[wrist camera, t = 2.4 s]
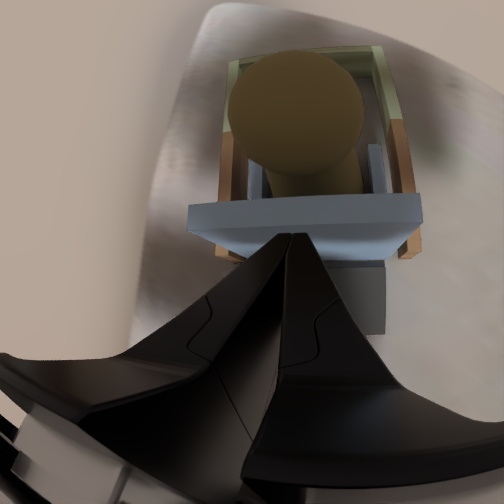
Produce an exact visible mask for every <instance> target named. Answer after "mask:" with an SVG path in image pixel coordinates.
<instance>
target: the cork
mask: <svg viewBox="0 0 504 504" xmlns="http://www.w3.org/2000/svg"><path fill="white" fill-rule="evenodd" d="M227 116H228V121H229V125H230V128H231V131H232V135H233V138H234V140H235V141H236V143H237V144H238V145H239V146H240V148H241V149H242V150H243V151H244V153H245V154H246V155H247V156H248V158H249V159H250V160H252V161H253V162H255V163H257V164H258V165H260V166H262V167H263V168H265V171H266V174H267V178H268V181H269V184H270V188H271V191H272V195H273V198H282V197H300V196H320V195H345V194H365V191H364V182H363V178H362V173H361V169H360V165H359V161H358V157H357V153H356V149H355V144H356V143H357V141H358V140H359V138H360V135H361V131H362V126H363V122H364V106H363V100H362V95H361V92H360V90H359V88H358V86H357V84H356V83H355V81H354V79H353V78H352V76H351V75H350V73H349V72H348V71H346V70H345V69H344V68H343V67H341V66H340V65H339V64H337V63H336V62H335V61H333V60H332V59H331V58H329V57H327V56H324V55H321V54H319V53H316V52H311V51H302V50H292V51H283V52H278V53H275V54H272V55H269V56H266V57H264V58H262V59H260V60H258V61H257V62H255V63H254V64H252V65H251V66H249V67H248V68H247V69H246V70H245V71H244V72H243V73H242V74H241V75H240V77H239V78H238V79H237V81H236V83H235V85H234V87H233V89H232V91H231V94H230V97H229V102H228V112H227Z"/></svg>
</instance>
